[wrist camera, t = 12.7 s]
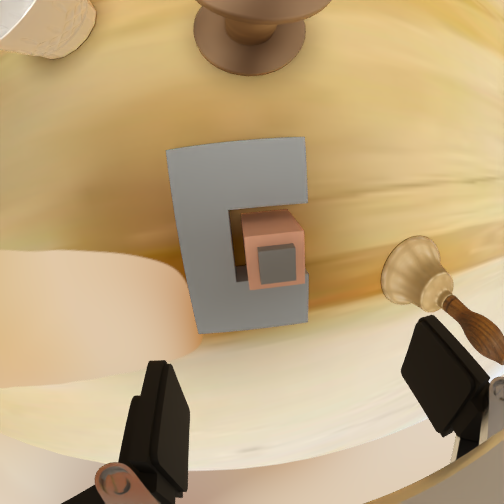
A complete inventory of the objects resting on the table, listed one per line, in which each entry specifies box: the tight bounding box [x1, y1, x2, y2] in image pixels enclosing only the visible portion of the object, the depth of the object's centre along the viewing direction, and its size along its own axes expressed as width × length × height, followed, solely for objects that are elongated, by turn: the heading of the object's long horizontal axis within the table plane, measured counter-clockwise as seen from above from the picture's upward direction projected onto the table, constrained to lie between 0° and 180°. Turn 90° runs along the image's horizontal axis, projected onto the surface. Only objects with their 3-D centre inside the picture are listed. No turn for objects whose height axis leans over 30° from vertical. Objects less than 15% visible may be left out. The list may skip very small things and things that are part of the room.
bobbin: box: [194, 0, 331, 76], centre depth 13 cm, size 9×9×11 cm
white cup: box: [0, 0, 96, 59], centre depth 11 cm, size 8×8×10 cm
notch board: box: [166, 137, 309, 334], centre depth 23 cm, size 16×10×3 cm, turn 5°
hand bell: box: [381, 236, 504, 365], centre depth 20 cm, size 8×8×16 cm
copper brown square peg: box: [241, 209, 305, 290], centre depth 22 cm, size 4×4×7 cm
